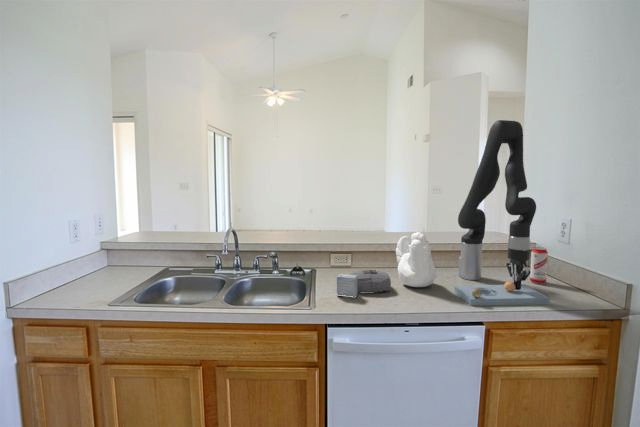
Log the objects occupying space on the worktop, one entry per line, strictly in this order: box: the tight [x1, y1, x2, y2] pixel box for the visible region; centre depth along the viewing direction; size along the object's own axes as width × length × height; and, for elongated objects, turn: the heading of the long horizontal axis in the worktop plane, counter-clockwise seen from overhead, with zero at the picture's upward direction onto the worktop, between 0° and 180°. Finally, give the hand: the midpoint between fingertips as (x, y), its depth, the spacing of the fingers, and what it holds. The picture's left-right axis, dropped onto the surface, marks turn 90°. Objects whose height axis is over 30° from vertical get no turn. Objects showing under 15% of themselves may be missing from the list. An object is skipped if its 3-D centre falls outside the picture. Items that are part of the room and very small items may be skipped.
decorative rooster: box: [395, 231, 438, 288], centre depth 157 cm, size 25×16×25 cm, turn 6°
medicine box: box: [336, 273, 358, 297], centre depth 142 cm, size 8×4×9 cm, turn 71°
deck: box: [453, 283, 550, 306], centre depth 138 cm, size 30×16×2 cm, turn 90°
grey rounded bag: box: [349, 269, 392, 293], centre depth 151 cm, size 15×8×20 cm
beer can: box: [529, 246, 549, 285], centre depth 155 cm, size 6×6×16 cm
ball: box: [503, 281, 515, 292], centre depth 137 cm, size 4×4×4 cm
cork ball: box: [472, 289, 482, 298], centre depth 131 cm, size 4×4×4 cm
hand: (517, 289), depth 138 cm, fingers closed
